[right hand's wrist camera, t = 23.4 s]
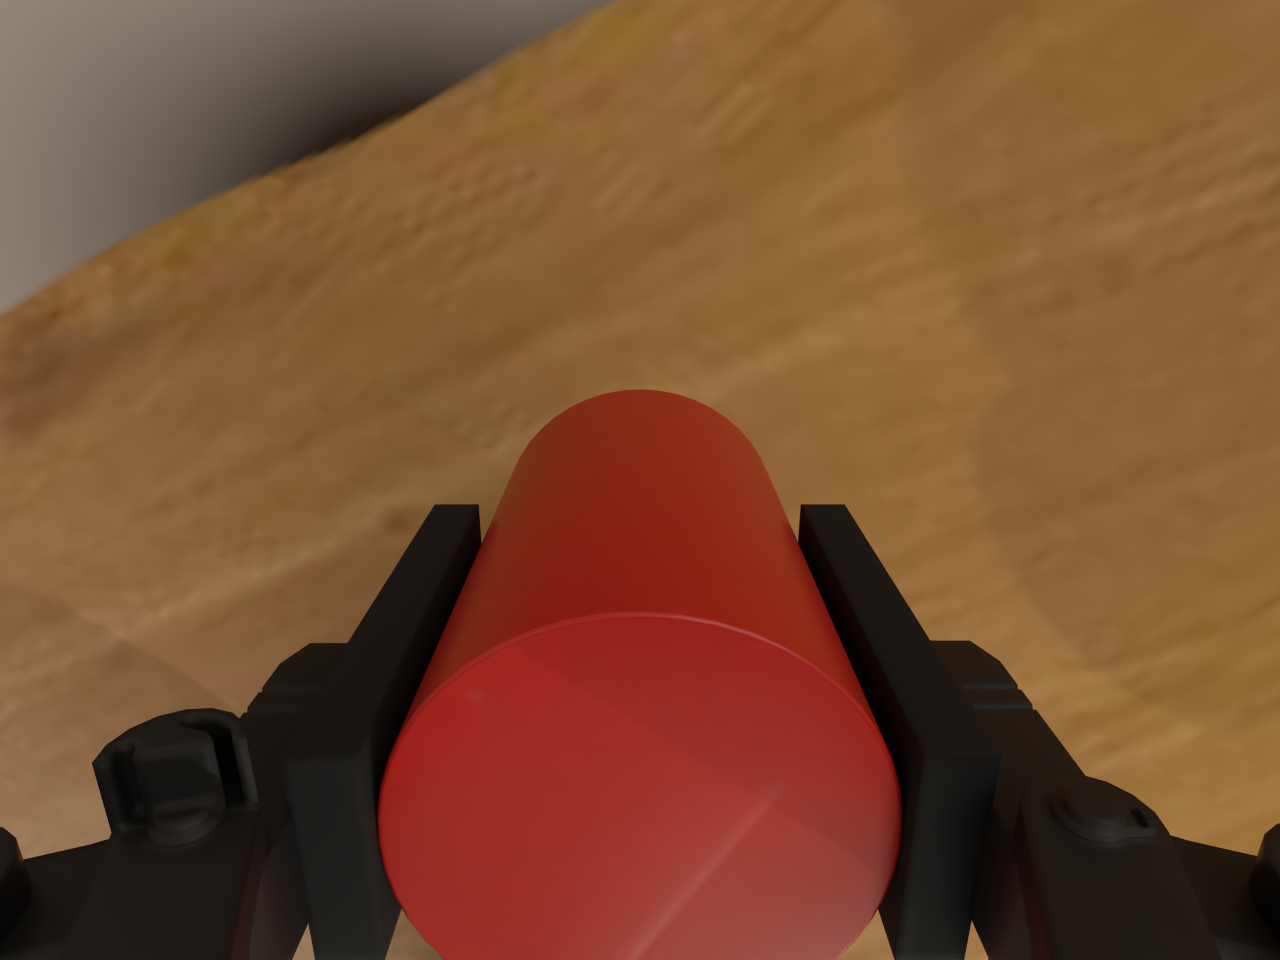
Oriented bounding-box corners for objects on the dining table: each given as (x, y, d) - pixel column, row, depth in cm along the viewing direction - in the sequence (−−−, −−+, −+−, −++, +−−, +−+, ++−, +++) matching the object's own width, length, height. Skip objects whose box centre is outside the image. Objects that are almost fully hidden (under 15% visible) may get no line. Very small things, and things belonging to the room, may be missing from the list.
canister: (685, 677, 18) (722, 1091, 10) (460, 564, 17) (294, 917, 9) (828, 474, 16) (1015, 767, 8) (586, 336, 16) (528, 512, 7)
